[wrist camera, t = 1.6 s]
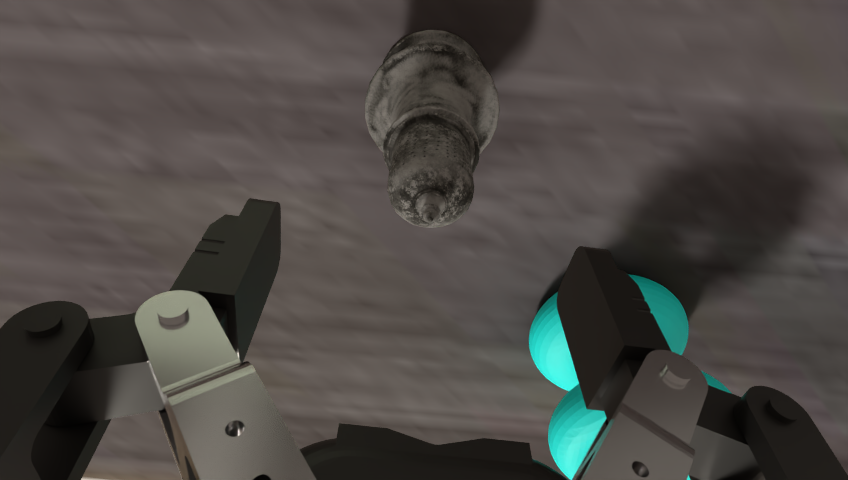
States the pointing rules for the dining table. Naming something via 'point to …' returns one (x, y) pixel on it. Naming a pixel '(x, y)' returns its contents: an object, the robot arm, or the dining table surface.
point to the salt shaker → (431, 124)
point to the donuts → (552, 357)
